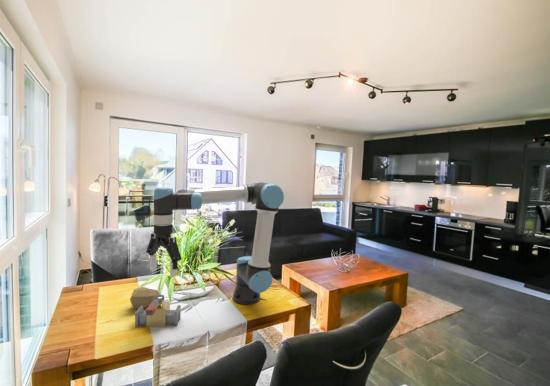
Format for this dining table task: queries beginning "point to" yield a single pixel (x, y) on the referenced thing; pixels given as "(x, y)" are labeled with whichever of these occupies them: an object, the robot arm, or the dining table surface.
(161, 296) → the lever
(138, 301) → the low-poly potato
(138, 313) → the valve
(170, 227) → the robot arm
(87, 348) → the dining table surface
